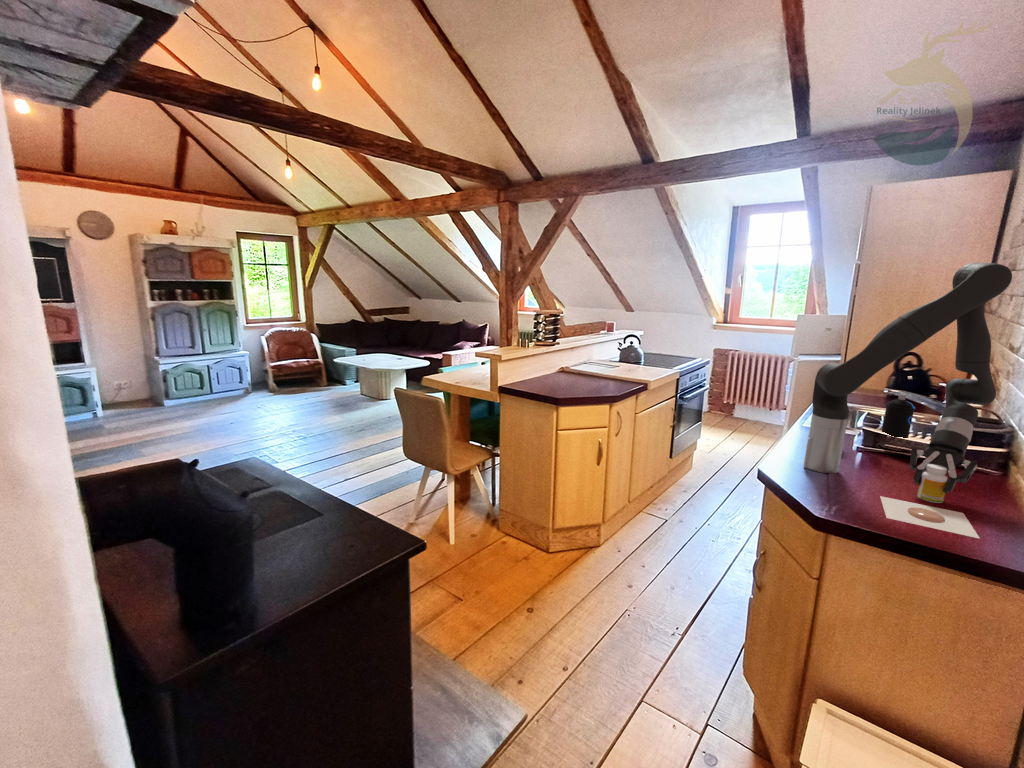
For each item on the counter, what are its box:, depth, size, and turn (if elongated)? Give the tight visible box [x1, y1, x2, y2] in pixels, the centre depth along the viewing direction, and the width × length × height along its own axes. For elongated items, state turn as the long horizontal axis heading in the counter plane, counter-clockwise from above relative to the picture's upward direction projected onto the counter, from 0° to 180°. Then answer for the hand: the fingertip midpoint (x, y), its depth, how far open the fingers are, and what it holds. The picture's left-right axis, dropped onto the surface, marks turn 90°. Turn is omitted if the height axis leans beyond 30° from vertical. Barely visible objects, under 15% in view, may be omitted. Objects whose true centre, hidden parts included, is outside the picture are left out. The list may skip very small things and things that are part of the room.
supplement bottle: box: [916, 464, 949, 504], centre depth 128 cm, size 5×5×10 cm
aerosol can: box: [881, 393, 916, 439], centre depth 170 cm, size 8×8×20 cm
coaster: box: [908, 508, 945, 522], centre depth 119 cm, size 7×7×1 cm
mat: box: [879, 495, 981, 539], centre depth 119 cm, size 17×15×1 cm
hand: (931, 487), depth 127 cm, fingers closed on supplement bottle, 5 cm apart
